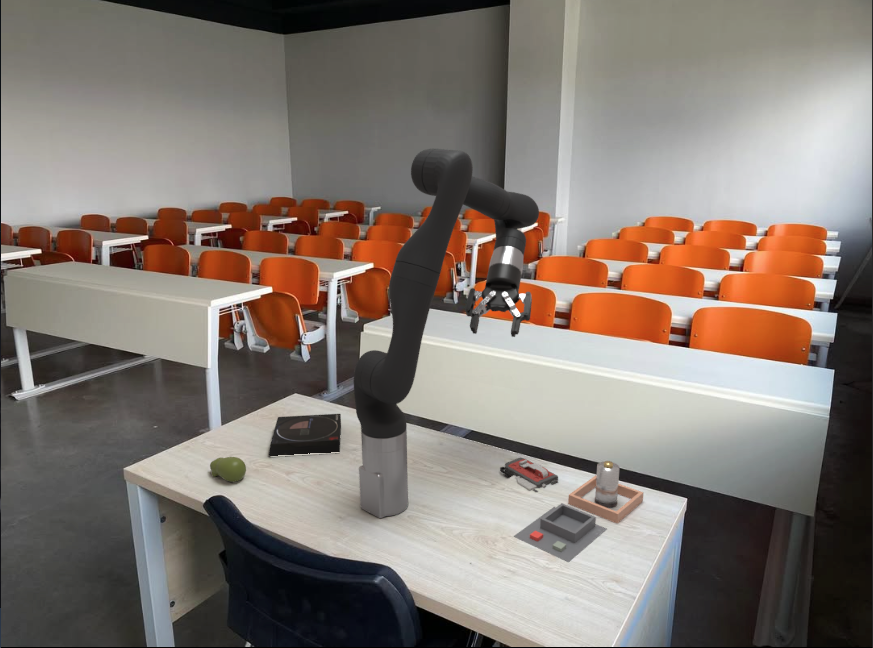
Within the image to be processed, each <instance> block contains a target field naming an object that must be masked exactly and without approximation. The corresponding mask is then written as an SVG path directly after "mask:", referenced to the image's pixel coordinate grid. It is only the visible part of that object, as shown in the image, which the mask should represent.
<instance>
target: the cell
mask: <svg viewBox="0 0 873 648" xmlns="http://www.w3.org/2000/svg"><path fill="white" fill-rule="evenodd" d="M596 465H597V466H596V487H595V495H594V503H596V504H599V505H601V506H604V507H606V508H609V509H613V508H617V506H618V495H619V494H618V484H619V481H620V479H619V477H620V465H618V464H617V463H615V462H613V461H610V460H605V461H601V462H598V463H597V464H596Z"/></svg>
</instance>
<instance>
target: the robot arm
mask: <svg viewBox="0 0 873 648" xmlns="http://www.w3.org/2000/svg"><path fill="white" fill-rule="evenodd" d="M410 177H411V180H412V183H413V186H415V188H416V189H417V190H418V191H419V192H421V194H422V193H423V194H425V195H429V196H433V197H435V198H434V201H433V204H432V206H431V208H430V211H429V214H428V215H427V216H426V219H425V220H424V221H423V223H422V224H421V225H420V226H419V228H417V229H416V230H415V232H414V233H412V235H410V236H409V238H408V239H407V240H406V242H405V243H404V244H403V245H402V247H401V248H400V249H399V251H398V253H397V255H396V258H395V262H394V265H393V269H392V271H391V275H390V279H389V284H388V296H389V303H390V311H391V316H392V317H391V318H392V333H391V338H390V341H389V346H388V350H387V352H384V351H381V350H376V349H374V350H369V351H366V352H364V353H363V354H362V355H361V356H360V357H359V358H358V360H357V362H356V364H355V367H354V369H353V370H354V371H353V392H354V405H355V412H356V417H357V419H358V421H359V424H360V431H361V432H360V436H361V437H360V438H361V461H362V463H361V464H362V465H360V466H359V467H358V481H359V482H358V483H359V502H360V509H361V510H364V511H365V512H367V513H369V514H371V515H373V516H375V517H376V518H379V519H382V518H384V517H389V516H391V517H392V516H394V515H395V516H396V515H399V514H401V513H403V512H404V511H405V510H406V509H407V507H408V506H409V481H408V477H409V476H408V473H409V472H408V443H407V442H408V437H407V434H408V431H407V417H406V415H405V412H403V410H402V409H401V408H400V407H399V406H398V404H400V403H401V402H403V401H404V400H405V399H406V398H407V396H408V395H409V393H410V392H411V389H412V387H413V384H414V380H415V378H416V373H417V368H418V363H419V357H420V356H419V355H420V352H421V351H420V350H421V345H422V342H423V335H424V332H425V328H426V324H427V319H428V317H429V313H430V308H431V305H432V302H433V299H434V296H435V293H436V289H437V288H438V287H437V286H438V283H439V279H440V276H441V273H442V268H443V264H444V260H445V256H446V253H447V250H448V246H449V244H450V241H451V238H452V234H453V231H454V227H455V226H456V222H457V220H458V217H459V215H460V214H461V210H462V209H463V207H464V206H466V207H467V208H470V209H472V210H474V211H476V212H478V213H480V214H482V215H484V216H486V217H488V218H489V219H492V220H493V221H494V227H495V228H494V230H495V243H494V248H493V251H492V255H491V258H490V260H489V265H488V271H487V276H486V281H485V285H484V288H483V290H482V291H480V290H476V288H474V287H472V288H470V289H469V291H468V296H467V299H466V302H465V305H464V311H465V314H466V317H471V319H470V321H469V322H470V323H469V328H470V331H471V332H472V334H473V335H474V334H475V335H477V333H478V328H479V324H480V318H481V317H482V316H483V315H486V314H487V313H488V312H489V311H491V312H500V313H506V312H507V311H508V312H509V313H510V315H511V316H512V321H511V322H512V323H511V327H510V329H511V330H510V336H511V337H512V338H513V337H514V338H515V337H516V336H517V335H519V333H520V329H521V327H520V326H521V323H522V322H523V321H526V322H528V321H530V320H531V312H532V304H533V303H532V301H533V297H532V293H531V292H530V291H526V292H525V293H519V292H520V286H521V281H522V280H521V279H522V276H523V271H524V269H523V268H524V256H525V251H526V244H527V237H526V235H525V233H524V232H523V231H521V230H519V229H523V228H528V227H531V226H533V225H535V223H537V221H538V220H539V217H540V215H539V214H540V209H539V206H538V204H537V203H536V201H535V199H533V198H532V197H531V196H529V195H526V194H524V193H519V192H514V191H507V190H506V189H504V188H503V187H501V186H499V185H498V184H495V183H493V182H490V181H489V180H485V179H482V178H479V177H475V176H473V162H472V159H471V157H470V155H469V154H468V153H467V152H465V151H462V150H458V149H457V150H456V149H444V148H443V149H442V148H427V149H424V150H422V151H420V152H418V153H417V154H416V155H415V157H414V159H413V160H412V162H411V167H410ZM463 205H464V206H463ZM480 298H482V300H481V301H480V302H479V303H478V305H476V302H478V300H480ZM519 300H520V301H521V303H522V304H523V311H522V312H520V311H519V310H518V308H517V306H516V304H517V303H518V302H519ZM475 305H476V307H475Z"/></svg>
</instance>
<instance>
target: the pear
mask: <svg viewBox="0 0 873 648" xmlns="http://www.w3.org/2000/svg"><path fill="white" fill-rule="evenodd" d="M209 468H210V471H211V476H212V477H218V476H219V477H220V478H222V479H224V480H225V481H227V482H230V483H236V482H238V481H240V480H242V479H243V478H244V476H245V475H246V472H247V466H246V463H245V462H244V460H242V459H241V458H240V457H237V456H227V457H218V458H215V459H214V460H212V461H211V462H210V465H209Z"/></svg>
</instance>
